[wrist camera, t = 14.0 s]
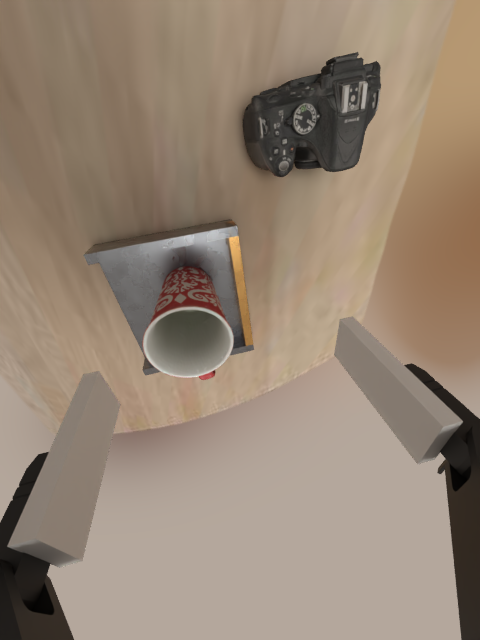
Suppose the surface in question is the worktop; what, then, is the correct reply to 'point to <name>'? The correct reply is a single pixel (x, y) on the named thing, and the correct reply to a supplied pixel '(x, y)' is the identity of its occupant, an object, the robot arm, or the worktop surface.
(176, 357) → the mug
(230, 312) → the tray
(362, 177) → the worktop surface
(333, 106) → the camera
